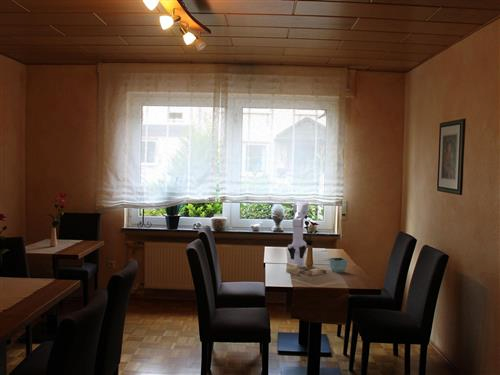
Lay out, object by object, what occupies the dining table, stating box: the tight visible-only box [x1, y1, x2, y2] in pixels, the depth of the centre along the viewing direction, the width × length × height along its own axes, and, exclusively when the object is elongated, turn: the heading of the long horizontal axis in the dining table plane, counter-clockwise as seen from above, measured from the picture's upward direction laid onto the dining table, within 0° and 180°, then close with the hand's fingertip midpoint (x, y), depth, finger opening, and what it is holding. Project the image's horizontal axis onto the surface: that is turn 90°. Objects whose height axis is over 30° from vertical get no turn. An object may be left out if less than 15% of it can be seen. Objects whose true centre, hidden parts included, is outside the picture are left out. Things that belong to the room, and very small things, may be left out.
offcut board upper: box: [309, 267, 323, 273], centre depth 300 cm, size 4×8×1 cm, turn 136°
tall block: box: [285, 262, 300, 275], centre depth 300 cm, size 2×9×6 cm, turn 38°
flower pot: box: [329, 257, 348, 273], centre depth 308 cm, size 9×9×9 cm
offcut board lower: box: [308, 271, 324, 276], centre depth 300 cm, size 5×10×1 cm, turn 129°
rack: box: [299, 265, 327, 277], centre depth 303 cm, size 14×14×3 cm
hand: (296, 258), depth 301 cm, fingers open, 7 cm apart
